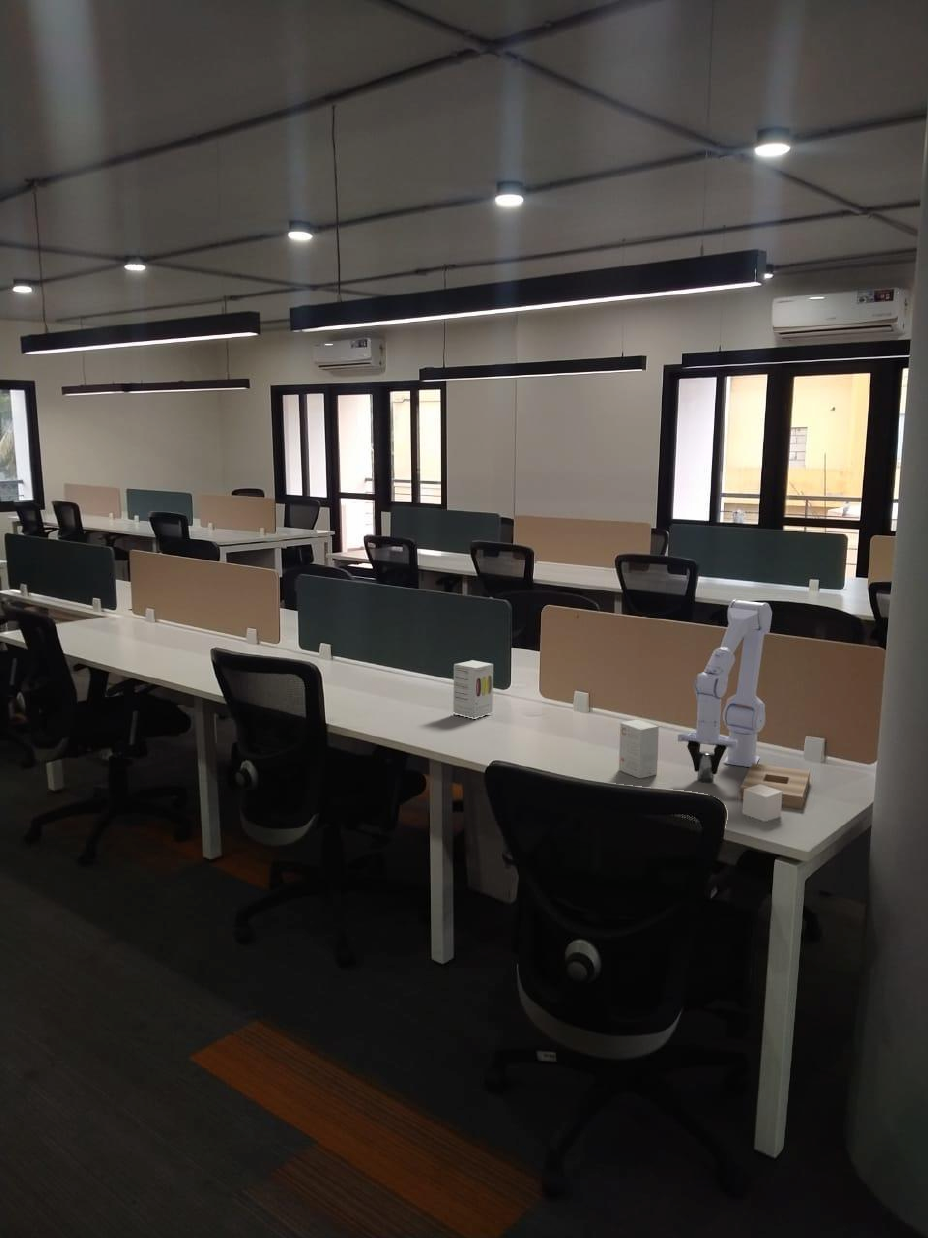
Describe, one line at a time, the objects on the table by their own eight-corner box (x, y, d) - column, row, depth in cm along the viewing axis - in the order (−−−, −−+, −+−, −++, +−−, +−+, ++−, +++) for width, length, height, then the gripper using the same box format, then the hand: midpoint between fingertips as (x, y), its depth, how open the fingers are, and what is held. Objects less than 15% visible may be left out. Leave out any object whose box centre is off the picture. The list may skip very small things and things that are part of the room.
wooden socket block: (751, 774, 231) (752, 763, 230) (809, 782, 225) (810, 771, 225) (739, 799, 213) (740, 787, 213) (801, 809, 207) (802, 796, 207)
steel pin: (699, 776, 229) (700, 750, 228) (714, 779, 227) (716, 752, 226) (695, 781, 225) (697, 754, 224) (711, 783, 224) (713, 757, 223)
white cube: (758, 808, 208) (760, 784, 207) (780, 816, 203) (782, 791, 202) (742, 814, 204) (743, 789, 203) (764, 822, 199) (766, 797, 198)
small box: (657, 775, 230) (659, 726, 228) (639, 779, 227) (641, 729, 225) (635, 766, 237) (637, 718, 235) (617, 770, 234) (619, 722, 231)
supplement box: (474, 720, 279) (474, 668, 276) (452, 715, 285) (452, 663, 282) (493, 714, 286) (494, 663, 284) (471, 709, 292) (472, 659, 290)
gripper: (676, 720, 223) (673, 772, 225) (735, 727, 217) (732, 781, 219) (682, 713, 230) (679, 764, 232) (740, 720, 223) (737, 772, 226)
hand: (705, 771), depth 226 cm, fingers closed on steel pin, 4 cm apart
